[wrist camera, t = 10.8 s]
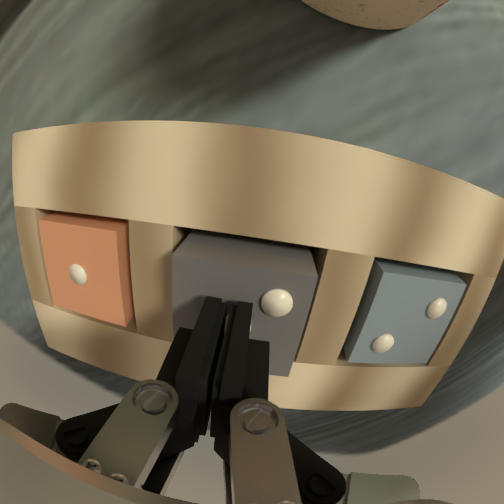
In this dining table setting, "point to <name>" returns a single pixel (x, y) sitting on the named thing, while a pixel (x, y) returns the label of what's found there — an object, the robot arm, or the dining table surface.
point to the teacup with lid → (377, 11)
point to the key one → (89, 264)
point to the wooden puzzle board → (259, 226)
